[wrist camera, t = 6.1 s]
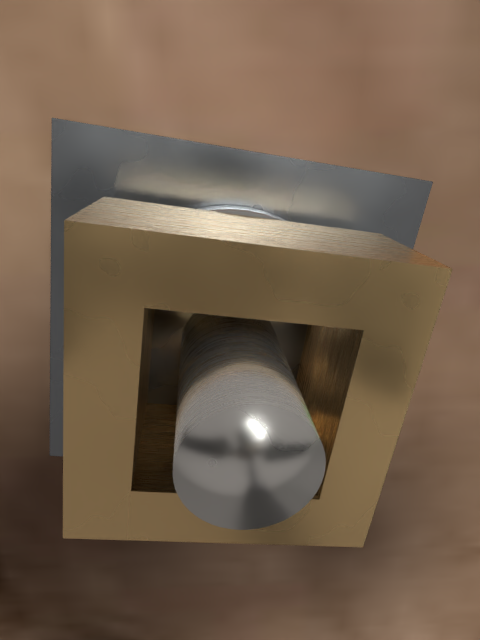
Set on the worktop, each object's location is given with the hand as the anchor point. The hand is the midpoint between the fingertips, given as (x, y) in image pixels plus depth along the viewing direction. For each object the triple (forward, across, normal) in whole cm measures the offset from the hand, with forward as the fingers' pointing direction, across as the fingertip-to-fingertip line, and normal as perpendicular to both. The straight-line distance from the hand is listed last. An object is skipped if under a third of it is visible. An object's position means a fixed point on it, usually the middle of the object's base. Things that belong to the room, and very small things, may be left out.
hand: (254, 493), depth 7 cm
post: (+8, 0, 0) cm, 8 cm away
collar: (+6, 0, 0) cm, 6 cm away
